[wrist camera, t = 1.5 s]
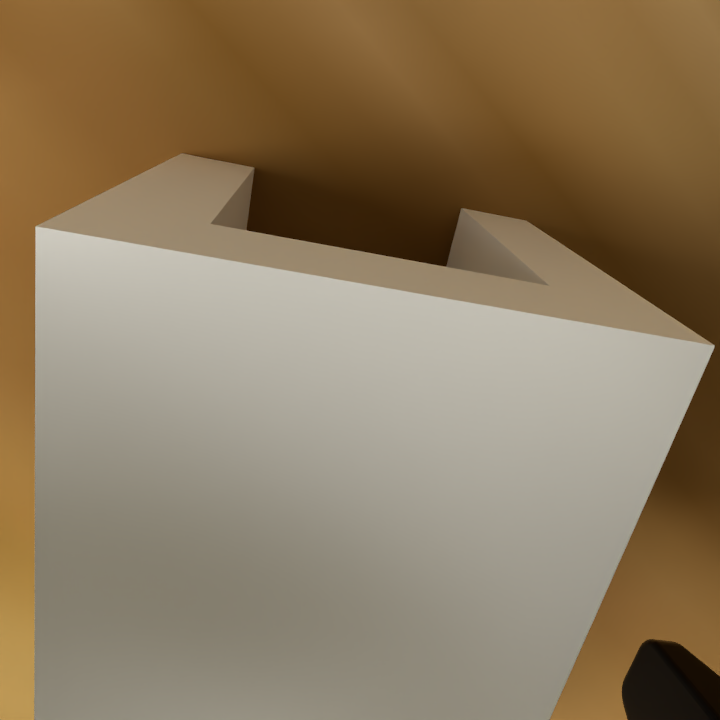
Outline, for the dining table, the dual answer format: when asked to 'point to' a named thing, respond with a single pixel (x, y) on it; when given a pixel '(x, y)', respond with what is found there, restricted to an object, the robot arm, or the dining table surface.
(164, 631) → the block
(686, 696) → the robot arm
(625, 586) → the dining table surface
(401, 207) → the dining table surface
